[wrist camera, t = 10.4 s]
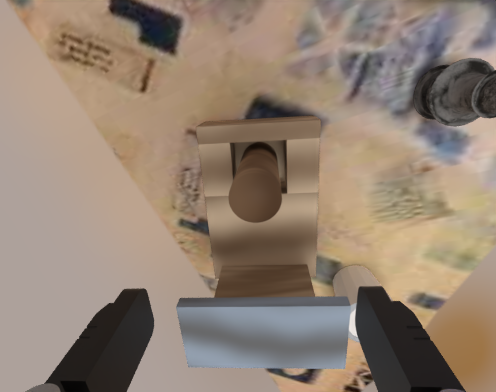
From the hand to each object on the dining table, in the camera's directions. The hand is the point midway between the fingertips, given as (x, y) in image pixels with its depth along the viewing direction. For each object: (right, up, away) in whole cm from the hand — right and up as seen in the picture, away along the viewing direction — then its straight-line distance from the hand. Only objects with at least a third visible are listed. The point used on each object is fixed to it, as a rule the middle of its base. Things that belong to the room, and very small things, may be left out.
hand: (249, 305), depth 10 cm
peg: (+1, +8, +21) cm, 23 cm away
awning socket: (+2, +4, +23) cm, 24 cm away
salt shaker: (+20, +15, +18) cm, 31 cm away
